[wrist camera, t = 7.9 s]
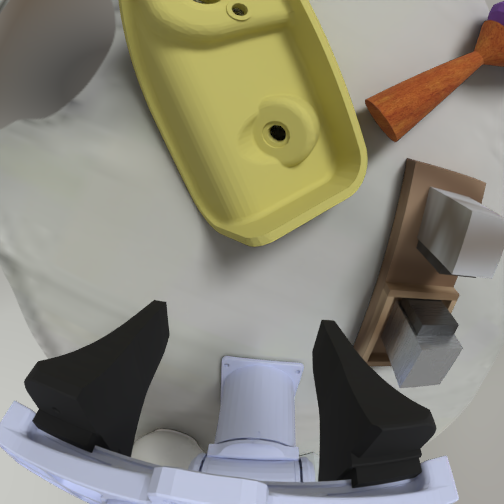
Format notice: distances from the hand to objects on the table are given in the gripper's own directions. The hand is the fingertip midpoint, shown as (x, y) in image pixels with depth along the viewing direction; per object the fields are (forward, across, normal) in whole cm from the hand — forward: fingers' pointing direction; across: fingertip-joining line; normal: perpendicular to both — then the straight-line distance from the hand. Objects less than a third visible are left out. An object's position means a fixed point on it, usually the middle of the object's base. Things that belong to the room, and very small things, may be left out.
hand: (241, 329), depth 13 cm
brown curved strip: (+10, +9, +34) cm, 37 cm away
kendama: (+8, -12, -19) cm, 24 cm away
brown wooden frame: (+10, -14, +1) cm, 17 cm away
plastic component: (+10, +2, -12) cm, 16 cm away
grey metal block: (+8, -14, +5) cm, 17 cm away
